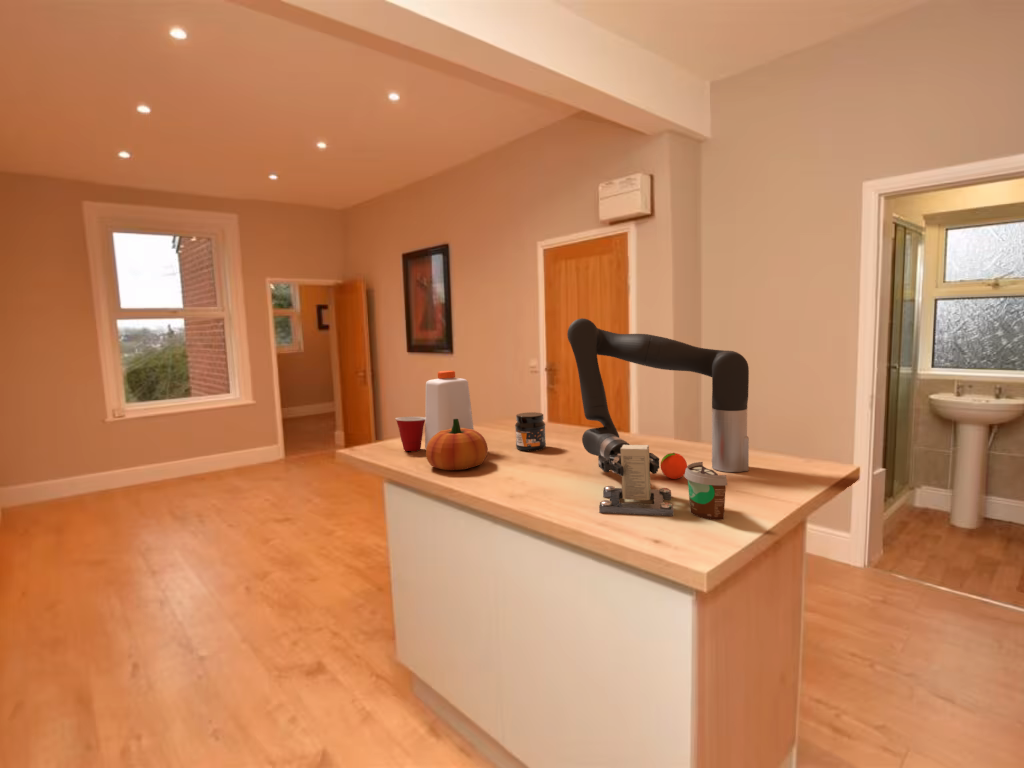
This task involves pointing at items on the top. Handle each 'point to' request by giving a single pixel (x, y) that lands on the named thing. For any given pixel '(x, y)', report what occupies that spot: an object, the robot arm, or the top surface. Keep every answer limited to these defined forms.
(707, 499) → the food container
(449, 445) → the pumpkin
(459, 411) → the plastic bottle
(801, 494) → the top surface
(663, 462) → the clementine
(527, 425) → the supplement container
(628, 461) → the skincare box
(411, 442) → the plastic cup
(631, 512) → the grey rectangular frame
